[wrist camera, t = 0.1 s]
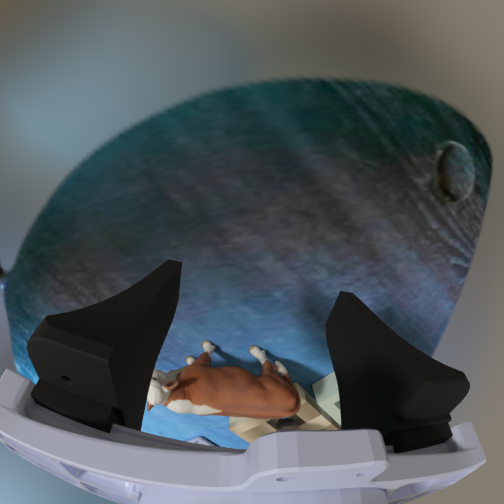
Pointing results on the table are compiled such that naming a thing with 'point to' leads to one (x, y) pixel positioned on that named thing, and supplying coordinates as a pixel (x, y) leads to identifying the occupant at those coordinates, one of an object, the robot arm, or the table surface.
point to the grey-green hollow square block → (328, 396)
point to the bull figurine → (226, 389)
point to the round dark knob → (287, 424)
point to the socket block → (306, 417)
